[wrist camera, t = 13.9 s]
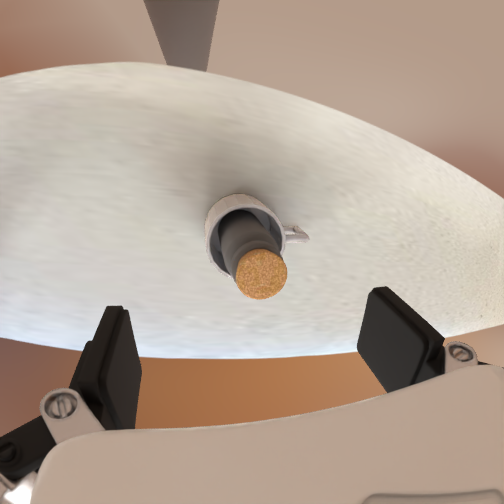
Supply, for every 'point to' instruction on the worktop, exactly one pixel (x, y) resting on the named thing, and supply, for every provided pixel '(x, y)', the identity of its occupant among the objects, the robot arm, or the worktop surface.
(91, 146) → the worktop surface
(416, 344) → the robot arm
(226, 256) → the bottle
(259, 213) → the mug
